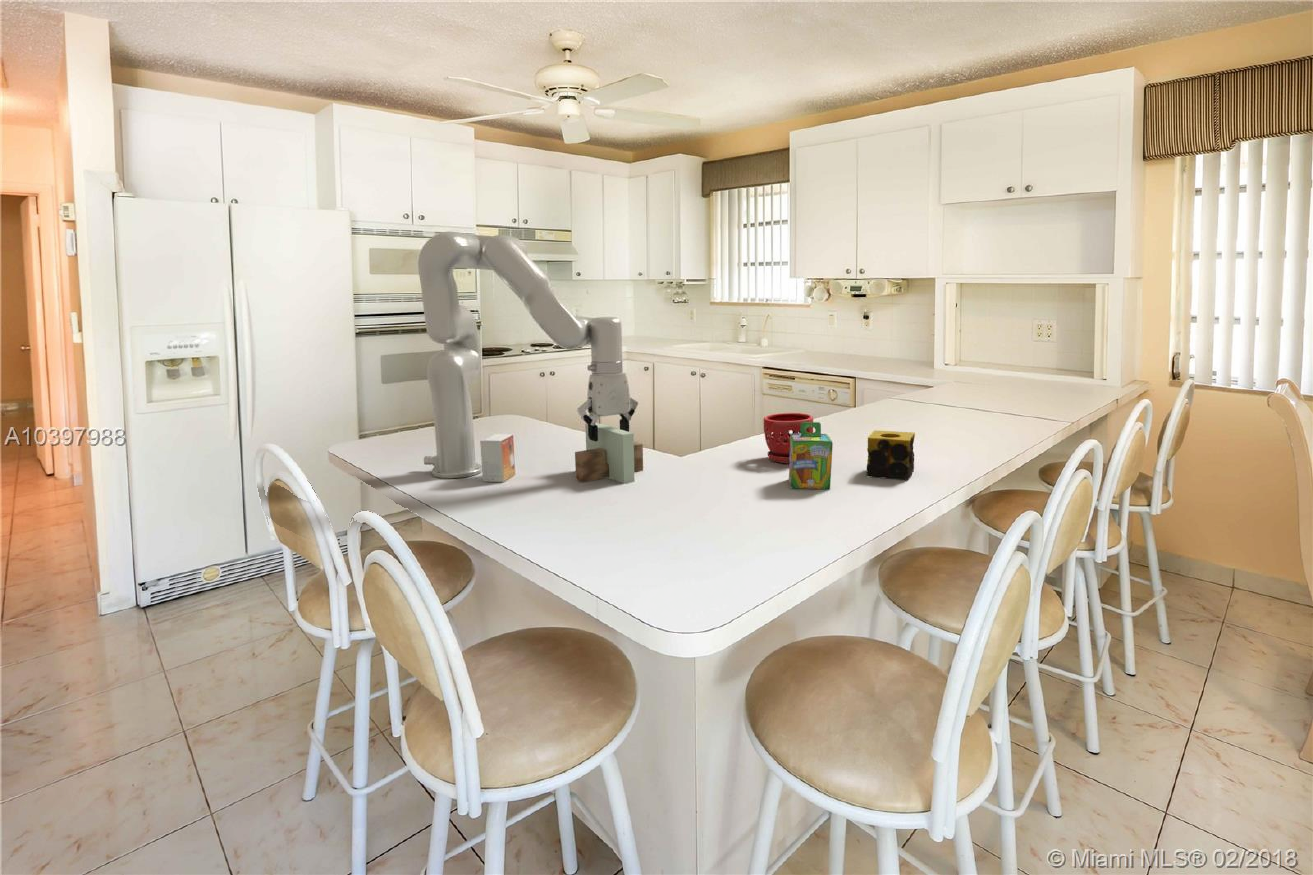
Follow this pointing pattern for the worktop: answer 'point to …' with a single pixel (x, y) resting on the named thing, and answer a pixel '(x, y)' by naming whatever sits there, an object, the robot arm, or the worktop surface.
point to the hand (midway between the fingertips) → (609, 437)
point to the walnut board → (601, 463)
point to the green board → (615, 451)
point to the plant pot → (783, 433)
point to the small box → (497, 458)
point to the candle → (890, 454)
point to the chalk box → (810, 458)
